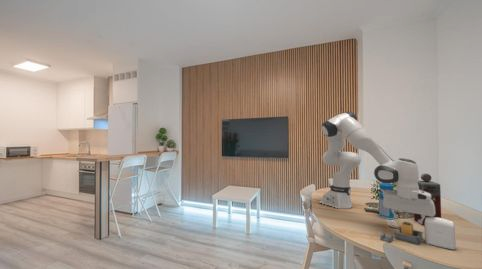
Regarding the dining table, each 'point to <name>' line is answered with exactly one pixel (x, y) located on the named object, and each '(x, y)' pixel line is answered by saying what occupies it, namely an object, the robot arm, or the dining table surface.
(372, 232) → the dining table surface
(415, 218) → the dark red decanter
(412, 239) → the end holder
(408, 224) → the block
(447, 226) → the photo printer
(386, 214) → the beverage bottle
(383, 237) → the clip
